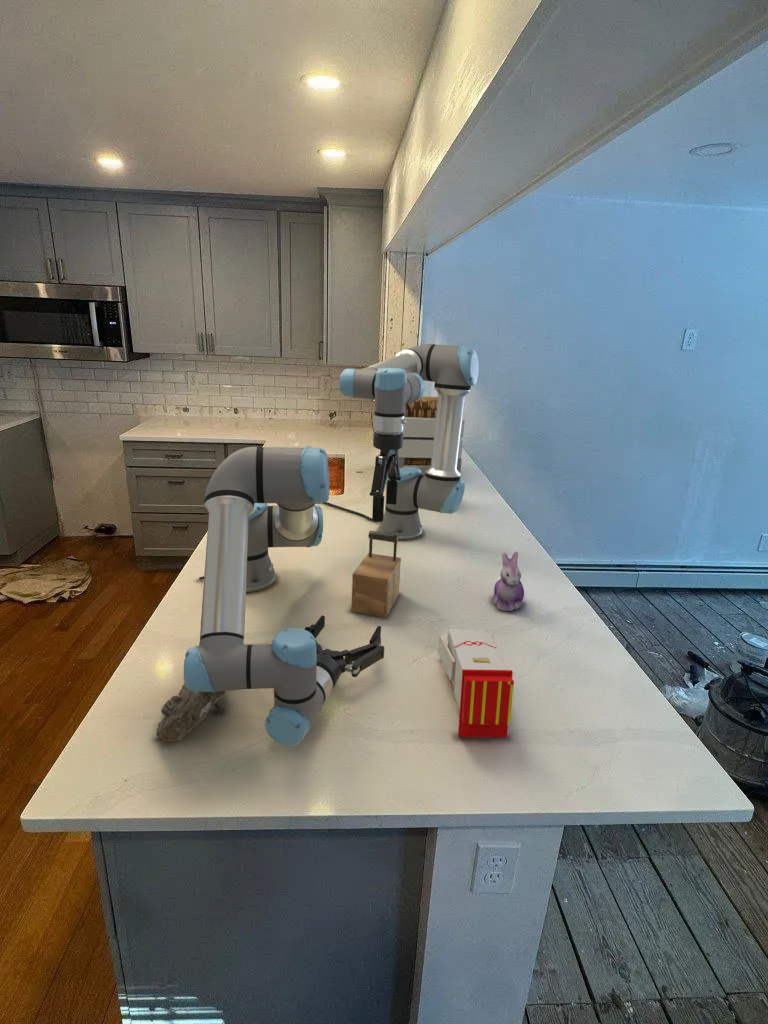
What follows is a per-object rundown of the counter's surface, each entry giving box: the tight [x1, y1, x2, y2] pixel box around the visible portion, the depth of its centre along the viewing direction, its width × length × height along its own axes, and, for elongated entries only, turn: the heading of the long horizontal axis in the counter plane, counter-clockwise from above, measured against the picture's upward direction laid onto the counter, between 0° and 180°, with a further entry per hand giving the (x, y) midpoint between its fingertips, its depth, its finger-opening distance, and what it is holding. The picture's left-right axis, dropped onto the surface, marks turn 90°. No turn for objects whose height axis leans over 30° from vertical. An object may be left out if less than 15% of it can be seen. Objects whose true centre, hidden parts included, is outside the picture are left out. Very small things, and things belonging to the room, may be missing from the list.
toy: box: [437, 628, 515, 738], centre depth 117 cm, size 12×13×30 cm
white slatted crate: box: [398, 396, 465, 475], centre depth 268 cm, size 34×33×41 cm
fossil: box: [155, 682, 226, 743], centre depth 109 cm, size 22×10×15 cm
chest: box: [351, 561, 402, 618], centre depth 151 cm, size 14×9×10 cm
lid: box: [352, 530, 402, 583], centre depth 148 cm, size 14×9×9 cm
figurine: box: [492, 551, 525, 612], centre depth 152 cm, size 9×10×15 cm
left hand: (351, 625), depth 131 cm, fingers open, 13 cm apart
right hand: (384, 511), depth 149 cm, fingers open, 13 cm apart
